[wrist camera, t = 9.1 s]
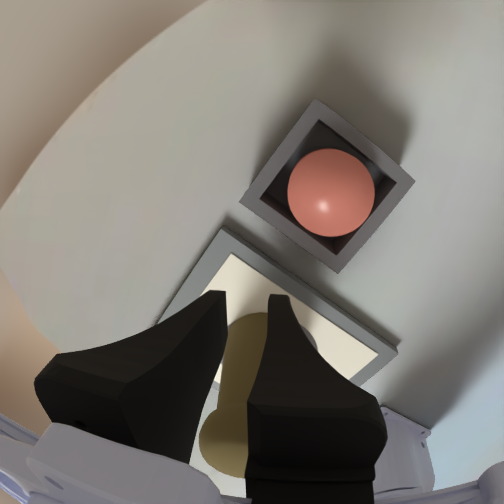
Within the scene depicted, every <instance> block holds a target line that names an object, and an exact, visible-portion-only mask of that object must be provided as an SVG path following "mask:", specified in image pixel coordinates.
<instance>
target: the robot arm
mask: <svg viewBox="0 0 504 504" xmlns="http://www.w3.org/2000/svg"><path fill="white" fill-rule="evenodd" d="M227 338H228V323H227V304H226V291H221V290H209V291H207V292H206V293H204V294H203V295H201V296H200V297H199V298H197V299H196V300H194V301H193V302H191V303H190V304H189V305H187V306H186V307H184V308H183V309H181V310H180V311H178V312H177V313H175V314H174V315H172V316H170V317H169V318H167V319H165V320H164V321H162V322H160V323H159V324H157V325H155V326H153V327H151V328H149V329H147V330H145V331H143V332H140V333H138V334H136V335H133V336H131V337H128V338H125V339H123V340H120V341H117V342H114V343H111V344H107V345H104V346H100V347H96V348H92V349H87V350H82V351H75V352H68V353H61V354H56V355H55V356H54V358H53V359H52V360H51V361H50V362H49V363H48V364H47V365H46V366H45V368H44V369H43V370H42V371H41V372H40V373H39V374H38V376H37V377H36V378H35V381H34V387H35V391H36V395H37V397H38V399H39V401H40V403H41V405H42V406H43V408H44V410H45V411H46V413H47V414H48V416H49V418H50V419H51V421H52V424H51V425H50V426H49V427H48V428H47V429H46V430H45V432H44V433H43V435H42V436H40V435H38V434H36V433H34V432H32V431H30V430H28V429H26V428H24V427H22V426H21V425H19V424H17V423H16V422H14V421H12V420H11V419H9V418H7V417H6V416H4V415H2V414H1V413H0V488H2V489H3V490H4V491H6V492H7V493H8V494H10V495H11V496H12V497H14V498H15V499H16V500H18V501H19V502H21V503H22V504H504V461H502V462H499V463H497V464H495V465H493V466H491V467H489V468H488V469H487V470H486V471H485V472H484V473H483V474H482V475H481V476H480V477H479V479H478V480H476V481H472V482H469V483H465V484H461V485H457V486H453V487H449V488H445V489H440V490H436V491H432V490H433V487H434V482H435V475H434V471H433V467H432V462H431V458H430V454H429V450H428V446H427V443H426V438H427V437H428V436H430V435H431V430H429V429H427V428H425V427H423V426H421V425H419V424H417V423H415V422H413V421H411V420H409V419H407V418H405V417H403V416H401V415H399V414H398V413H396V412H394V411H392V410H390V409H388V408H386V407H380V406H379V404H378V402H377V399H376V397H375V396H373V395H371V394H370V393H368V392H366V391H365V390H363V389H361V388H360V387H358V386H356V385H355V384H353V383H352V382H350V381H349V380H348V379H346V378H345V377H344V376H342V375H341V374H340V373H339V372H338V371H336V370H335V369H334V368H333V367H332V366H331V365H330V364H329V363H328V362H327V361H326V360H325V359H324V358H323V357H322V356H321V355H320V353H319V352H318V351H317V350H316V349H315V347H314V346H313V345H312V343H311V342H310V340H309V339H308V337H307V336H306V334H305V333H304V331H303V329H302V328H301V326H300V324H299V322H298V320H297V318H296V316H295V314H294V311H293V309H292V306H291V302H290V297H289V296H288V295H283V294H270V296H269V299H268V314H267V338H266V342H265V346H264V351H263V354H262V358H261V362H260V366H259V369H258V372H257V375H256V378H255V381H254V384H253V387H252V389H251V392H250V395H249V397H248V399H247V428H248V458H247V463H246V468H245V474H244V478H245V481H246V498H241V497H234V496H227V495H220V490H219V489H218V488H217V486H216V485H215V484H214V483H213V482H212V480H211V479H210V478H209V477H208V475H206V474H204V473H203V472H201V471H199V470H197V469H195V468H194V467H192V466H190V465H189V462H190V457H191V453H192V448H193V444H194V440H195V436H196V432H197V428H198V424H199V421H200V417H201V413H202V409H203V407H204V404H205V401H206V398H207V396H208V393H209V391H210V388H211V386H212V383H213V381H214V378H215V376H216V373H217V371H218V368H219V366H220V363H221V361H222V358H223V355H224V351H225V347H226V342H227Z"/></svg>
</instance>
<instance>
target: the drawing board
mask: <svg viewBox="0 0 504 504" xmlns="http://www.w3.org/2000/svg"><path fill="white" fill-rule="evenodd" d="M209 290H221V291H226V304H227V323H228V330H229V328H230V326H231V325H232V324H233V323H234V322H235V321H236V320H237V319H239V318H241V317H243V316H245V315H247V314H252V313H259V312H264V313H268V299H269V296H270V294H283V295H288V296H289V297H290V302H291V306H292V309H293V311H294V314H295V316H296V318H297V320H298V322H299V324H300V326H301V328H302V329H303V331H304V333H305V334H306V336H307V337H308V339H309V340H310V342H311V343H312V345H313V346H314V347H315V349H316V350H317V351H318V352H319V353H320V355H321V356H322V357H323V358H324V359H325V360H326V361H327V362H328V363H329V364H330V365H331V366H332V367H333V368H334V369H335V370H336V371H338V372H339V373H340V374H341V375H342V376H344V377H345V378H346V379H348V380H349V381H350V382H352V383H353V384H355V385H356V386H358V387H360V386H361V385H362V384H363V383H365V382H366V381H367V380H368V379H370V378H371V377H372V376H373V375H374V374H376V373H377V372H378V371H379V370H380V369H382V368H383V367H384V366H385V365H386V364H388V363H389V362H390V361H391V360H392V359H393V358H394V357H396V356H397V355H398V351H397V348H396V347H394V346H393V345H392V344H390V343H389V342H388V341H386V340H385V339H383V338H382V337H381V336H379V335H378V334H376V333H375V332H374V331H372V330H371V329H369V328H368V327H367V326H365V325H364V324H362V323H361V322H360V321H358V320H357V319H355V318H354V317H353V316H351V315H350V314H348V313H347V312H345V311H344V310H343V309H341V308H340V307H338V306H337V305H336V304H334V303H333V302H331V301H330V300H329V299H327V298H326V297H324V296H323V295H322V294H320V293H319V292H317V291H316V290H315V289H313V288H312V287H310V286H309V285H307V284H306V283H305V282H303V281H302V280H300V279H299V278H298V277H296V276H295V275H293V274H292V273H291V272H289V271H288V270H286V269H285V268H283V267H282V266H281V265H279V264H278V263H276V262H275V261H274V260H272V259H271V258H269V257H268V256H267V255H265V254H264V253H262V252H261V251H259V250H258V249H257V248H255V247H254V246H252V245H251V244H250V243H248V242H247V241H245V240H244V239H242V238H241V237H240V236H238V235H237V234H235V233H234V232H232V231H231V230H230V229H228V228H227V227H225V226H224V225H223V227H222V228H221V229H220V231H219V232H218V234H217V235H216V237H215V238H214V240H213V241H212V242H211V244H210V245H209V247H208V248H207V250H206V251H205V253H204V254H203V256H202V257H201V259H200V260H199V262H198V263H197V264H196V266H195V267H194V269H193V270H192V272H191V273H190V275H189V276H188V278H187V279H186V281H185V282H184V284H183V285H182V287H181V288H180V290H179V291H178V293H177V294H176V296H175V297H174V299H173V300H172V302H171V304H170V305H169V307H168V308H167V310H166V311H165V313H164V314H163V316H162V317H161V319H160V320H159V322H158V323H157V324H159V323H160V322H162V321H164V320H165V319H167V318H169V317H170V316H172V315H174V314H175V313H177V312H178V311H180V310H181V309H183V308H184V307H186V306H187V305H189V304H190V303H191V302H193V301H194V300H196V299H197V298H199V297H200V296H201V295H203V294H204V293H206V292H207V291H209ZM223 356H224V355H223ZM222 364H223V358H222V361H221V363H220V366H219V368H218V371H217V373H216V376H215V378H214V381H213V383H212V386H211V387H213V388H215V389H216V390H218V391H219V387H220V379H221V372H222Z"/></svg>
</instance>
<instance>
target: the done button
mask: <svg viewBox="0 0 504 504" xmlns="http://www.w3.org/2000/svg"><path fill="white" fill-rule="evenodd" d="M374 196H375V192H374V184H373V180H372V178H371V175H370V173H369V172H368V170H367V168H366V167H365V166H364V165H363V164H362V163H361V162H360V161H359V160H358V159H357V158H355V157H354V156H352V155H350V154H348V153H346V152H344V151H341V150H339V149H335V148H328V147H327V148H318V149H314V150H312V151H310V152H308V153H306V154H305V155H303V156H302V157H301V158H300V159H299V160H298V161H297V162H296V164H295V165H294V167H293V169H292V171H291V174H290V179H289V184H288V202H289V206H290V209H291V211H292V213H293V215H294V217H295V218H296V219H297V221H298V222H299V223H300V224H301V225H302V226H303V227H305V228H306V229H308V230H309V231H311V232H313V233H315V234H318V235H322V236H330V237H332V236H341V235H344V234H347V233H349V232H352V231H353V230H355V229H357V228H358V227H359V226H360V225H361V224H362V223H363V222H364V221H365V220H366V218H367V217H368V215H369V214H370V212H371V209H372V207H373V203H374Z"/></svg>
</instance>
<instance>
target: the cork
mask: <svg viewBox="0 0 504 504" xmlns="http://www.w3.org/2000/svg"><path fill="white" fill-rule="evenodd" d="M267 314H268V313H264V312H259V313H252V314H247V315H245V316H243V317H241V318H239V319H237V320H236V321H235V322H234V323H233V324H232V325H231V326H230V328H229V330H228V338H227V342H226V347H225V351H224V356H223V364H222V372H221V379H220V387H219V395H218V403H217V409H216V410H214V411H213V412H212V413H210V414H209V416H208V417H207V419H206V420H205V422H204V424H203V426H202V428H201V430H200V433H199V447H200V451H201V454H202V456H203V458H204V459H205V461H206V462H207V463H208V464H209V465H211V466H212V467H213V468H215V469H216V470H218V471H220V472H222V473H224V474H226V475H230V476H233V477H238V478H244V474H245V468H246V463H247V458H248V428H247V399H248V397H249V395H250V392H251V389H252V387H253V384H254V381H255V378H256V375H257V372H258V369H259V366H260V362H261V358H262V354H263V351H264V346H265V342H266V338H267ZM244 479H245V478H244Z"/></svg>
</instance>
